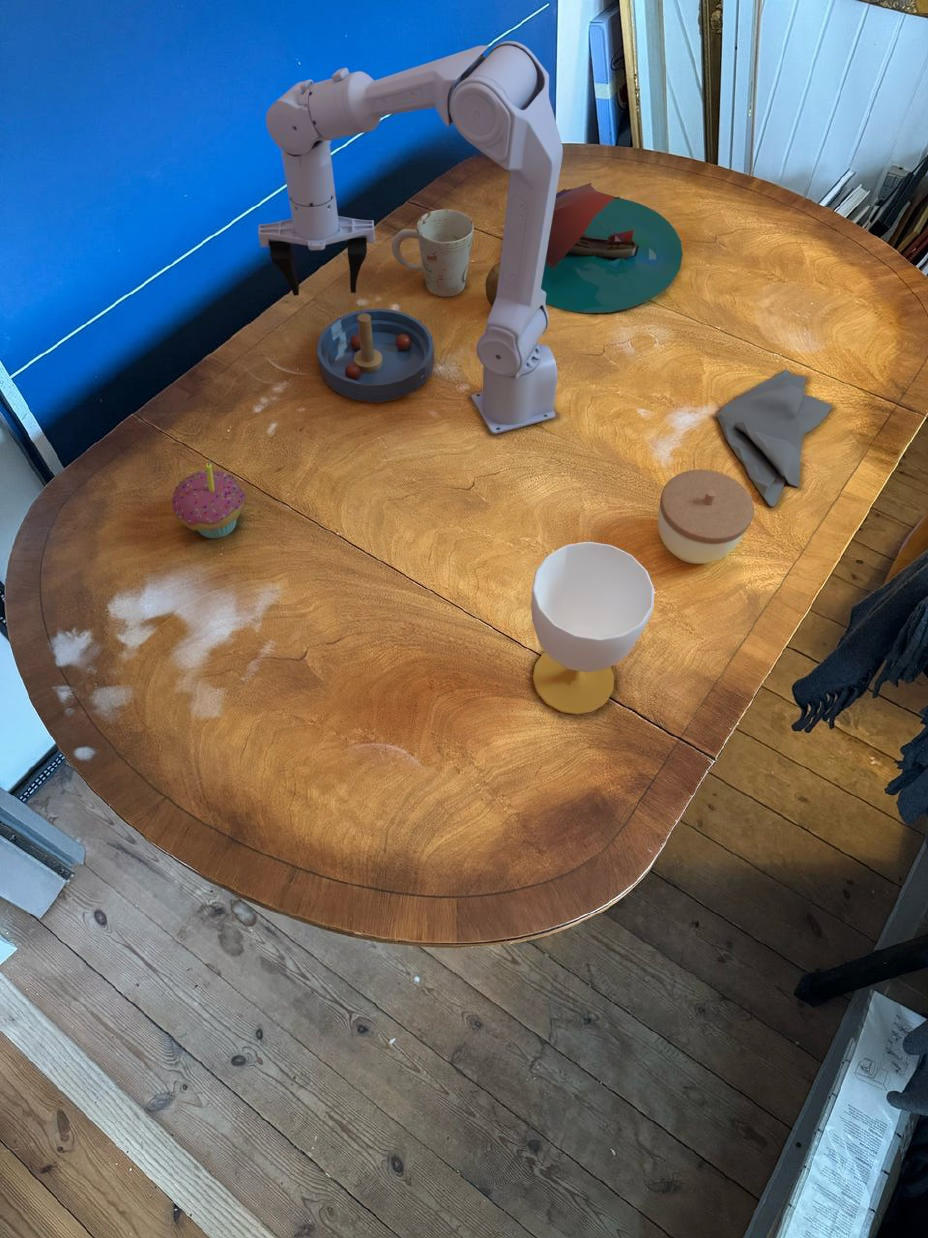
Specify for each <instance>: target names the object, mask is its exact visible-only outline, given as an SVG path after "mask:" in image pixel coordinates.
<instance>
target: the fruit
mask: <svg viewBox="0 0 928 1238" xmlns="http://www.w3.org/2000/svg"><path fill="white" fill-rule="evenodd" d="M499 269H500V261H498V262H496V263H494V265H493V266H492V267H491V269H490V271H489V272H488V274H487V275H486V279H485V297H486V300H487V302H488V303H489V305H490V306H491V308H492V307H493V304H494V302H495V299H496V294H497V286H498V277H499Z"/></svg>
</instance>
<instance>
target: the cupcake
mask: <svg viewBox="0 0 928 1238" xmlns="http://www.w3.org/2000/svg"><path fill="white" fill-rule="evenodd" d="M245 497H246V496H245V491H244V489H243V488H242V487H241V486H240V484H239V483H238V481H237V480H236V479H235V478H234V476H231V474H228V473H226V472H225V471H217V470H213V467H212V463H211V460H210V459H208V461H207V463H206V464H205V470H202V471H196V472H193V473H192V474H191V475H189V476H187V477H186V478H183V479H182V480H181V481H180V482H179V483H178V485H177V486H176V487H175V488H174V490H173V493H172V497H171V512H172V515H174V517H175V518H176V519H177V520H178V522H180V523H181V524H182V525H184V527H187V528H188V529H190V530H191V531H198V533H199V534H201V535H202V536H204V537H205V538H209V539H220V538H223V537H226V536H227V535H229V534H230V533H232V532H233V531H234V530H235V528H236V525H237V519H238V518H239V516H240V514H241V512H242V510H243V508H244V505H245Z"/></svg>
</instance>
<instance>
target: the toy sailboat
mask: <svg viewBox="0 0 928 1238" xmlns="http://www.w3.org/2000/svg"><path fill="white" fill-rule="evenodd" d="M682 261H683V247H682V239H681V238H680V237H679V235H678V233H677V231H676V229H675V227H674V226H673V225H672V224H671V223H670V222H669V221H668V220H667V219H666V218H665V217H664V216H663V215H662V214H660V213H659V212H657V211H656V210H654V209H652V208H650V207H649V206H646V205H644V204H641V203H640V202H636V201H632V200H629V199H626V198H622V197H620V196H614V195H611V194H607V193H604V192H601V191H597V190H596V189H595V188H594V187H593V186H592V183H591V182H589V183H586V184H582V185H580V186H576V187H573V188H569V189H566V188H564V189H562V190H560V191H557V193H556V199H555V205H554V211H553V217H552V223H551V230H550V236H549V242H548V248H547V254H546V260H545V266H544V272H543V278H542V284H541V289H542V290H543V291H545V292H546V301H545V304H546V305H548V306H551V307H554V308H558V309H560V310H563V311H568V312H577V313H584V314H595V313H600V314H601V313H612V312H617V311H622V310H627V309H630V308H633V307H636V306H639V305H641V304H643V303H645V302H647V301H649V300H652V299H653V298H655V297H657V296H658V295H660V294H661V293H663V292H664V291H665V290H667V288H669V287H670V285H671V284H673V282H674V280H675V278H676V277H677V275H678V273H679V272H680V270H681V266H682Z"/></svg>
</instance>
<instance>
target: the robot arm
mask: <svg viewBox="0 0 928 1238" xmlns="http://www.w3.org/2000/svg"><path fill="white" fill-rule="evenodd" d="M489 47H490V45H489V44H488V45H477V46H474V47H471V48H469V49H466V50H462V51H460V52H456V53H454V54H451V55H448V56H445V57H442V58H439V59H435V60H433V61H430V62H427V63H424V64H421V65H418V66H414V67H411V68H408V69H405V70H403V71H400V72H397V73H393V74H391V75H388V76H385V77H381V78H379V79H375V80H374V79H373V78H372V77H371V76H370V75H369V74H367V73H366V72H364V71H358V70H357V71H354V72H351V73H350V72H349V69H348V68H347V67H343V68H340V69H338V70H336V71H335V72H334V73H333V74H332V75H331V78H329V79H325V80H321V81H318V82H314V81H313V80H312V79H307V80H304V81H299V82H297V83H295V84H294V85H293V86H292V87H291V88H289V89H288V90H287V91H286V92H285V93H284V94H283V95H281V96H280V97H279V98H278V99H276V100H275V101H274V102H273V103H272V105H271V106H270V107H269V108H268V109H267V112H266V116H265V123H266V128H267V131H268V134H269V136H270V137H271V139H272V141H273V143H275V145H276V146H277V147H278V148H279V149H280V152H281V159H282V164H283V170H284V176H285V177H284V178H285V183H286V184H285V185H286V189H287V195H288V201H289V202H288V203H289V209H290V214H291V218H287V219H283V220H279V221H276V222H271V223H264V224H258V233H257V234H258V239H259V240H258V241H259V244H260V245H259V246H260V248H269V256H270V259H271V261H272V262H273V263H274V265H275V266H277V268H278V269H279V270H280V272H281V273H282V274H283V276H284V278H285V279H286V281H287V283H288V285H289V287H290V289H291V291H292V295H293V297H294V296H295V297H297V296H299V294H300V284H299V278H298V277H299V276H298V272H297V268H296V265H295V259H294V253H293V252H294V251H293V244H296V245H302V246H306V247H308V250H310V251H323V250H325V249H326V246H327V245H332V244H336V243H339V242H346V243H347V244H346V245H347V248H346V249H347V259H348V267H349V268H348V269H349V289H350V293H351V294H356V293H357V283H358V278H359V274H360V271H361V268H362V265H363V263H364V262H365V259H366V257H367V254H368V244H373V243H376V236H375V235H376V233H375V223H374V222H375V221H374V220H373V219H372V220H371V219H369V220H367V219H357V218H352V217H345V216H340V215H339V214H338V206H337V205H338V203H337V196H336V187H335V179H334V171H333V160H332V153H331V152H332V151H331V144H332V141H333V140H338V139H342V138H346V137H350V136H355V135H359V134H364V133H369V132H372V131H374V130H375V129H377V128H378V126H379V124H380V122H381V120H382V117H385V116H389V115H396V114H402V113H408V112H414V111H415V112H416V111H421V110H426V109H432V108H433V109H435V110H436V112H437V114H438V115H439V118H440V119H441V120H442V122H443V124H444V125H445V126H446V127H450V126H451V125H452V124H453V125H454V127H455V129H456V130H457V132H458V133H459V134H460V136H461V137H463V138H464V139H465V140H466V141H467V142H468V143H470V144H471V145H472V146H473V147H474V148H476V149H478V151H480V152H481V153H482V154H484V155H485V156H487V157H488V158H489V159H490V160H492V161H493V162H495V163H496V164H497V165H499V166H500V167H501V168H502V169H504V170H505V171H509V174H510V175H509V184H508V191H507V201H506V210H505V219H504V227H503V234H502V235H503V236H502V244H501V252H500V253H501V254H500V259H499V262H500V269H499V277H498V286H497V294H496V299H495V302H494V304H493V307H492V306H491V308H490V312H489V314H488V317H487V320H486V323H485V329H484V330H485V331H484V332H483V334H481V336H480V337H479V339H478V341H477V342H476V355H477V359H478V360H479V362H480V363H481V364H482V366H483V369H482V391H480V392H475V393H473V394H471V401H472V402H473V404H474V406H475V408H476V409H477V411H478V413H479V414H480V416H481V418H482V420H483V421H484V424H485V425H486V426H487V429H488V430H489V431H490V434H492V435H498V434H501V433H504V432H508V431H513V430H517V429H520V428H523V427H527V426H530V425H534V424H538V423H542V422H545V421H549V420H553V419H555V418H556V415H557V414H556V412H555V410H554V409H555V400H556V394H557V385H558V368H557V362H556V359H555V356H554V354H553V351H552V350H551V348H550V347H549V345H546V344H539V342H540V341H539V340H540V339H541V337H542V336H543V335H544V334H545V332H546V331H547V329H548V328H549V324H550V315H549V312H548V309H547V304H546V303H545V301H546V292H545V291H543V290H542V289H541V284H542V278H543V272H544V266H545V260H546V254H547V248H548V242H549V236H550V230H551V223H552V217H553V211H554V205H555V199H556V193H558V187H559V182H560V181H559V180H560V174H561V169H562V162H563V156H564V155H563V154H564V148H563V142H562V139H561V135H560V132H559V129H558V125H557V121H556V117H555V115H554V111H553V107H552V104H551V103H552V102H551V100H550V74H549V73H548V71H547V69H545V67H544V66H543V65H542V63H541V62H540V61H539V59H538V58H537V56H536V55H535V54H534V53H533V51H532V50H531V49H529V48H528V47H527V46H525V44H523V43H520V42H518V41H513V40H505V41H502V42H500V43H497V44H496V45H495V46H493V48H491V50H490V52H488V53H487V56H484V54H485V53H486V51H487V50H488V49H489Z"/></svg>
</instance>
